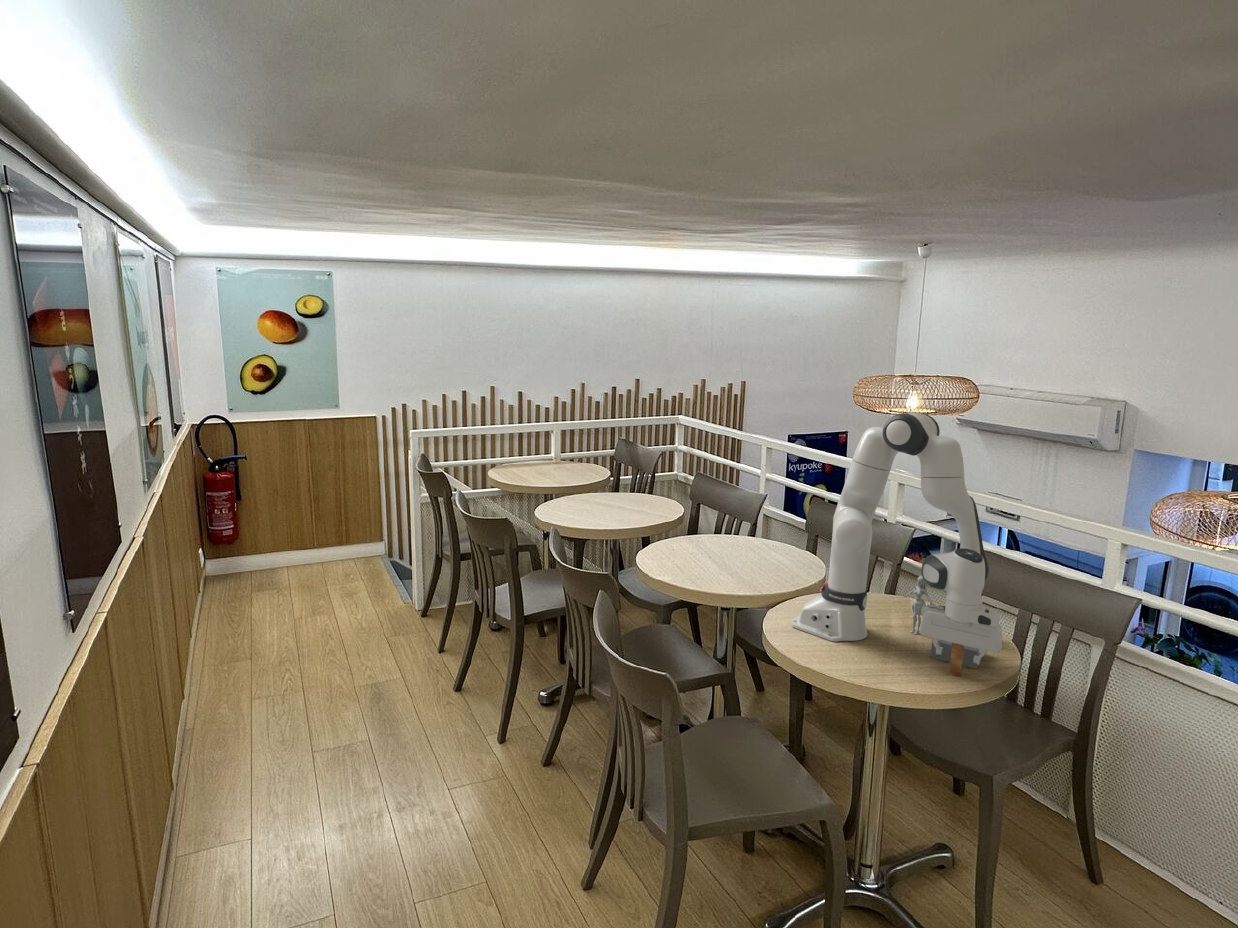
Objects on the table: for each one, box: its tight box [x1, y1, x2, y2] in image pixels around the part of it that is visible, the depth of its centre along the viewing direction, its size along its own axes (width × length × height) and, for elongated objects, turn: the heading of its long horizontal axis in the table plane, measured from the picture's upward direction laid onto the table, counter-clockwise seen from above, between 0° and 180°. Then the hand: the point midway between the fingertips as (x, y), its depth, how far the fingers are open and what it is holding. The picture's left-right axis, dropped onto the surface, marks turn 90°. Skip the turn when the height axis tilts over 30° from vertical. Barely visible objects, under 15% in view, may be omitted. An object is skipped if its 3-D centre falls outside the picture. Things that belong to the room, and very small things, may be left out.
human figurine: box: [902, 575, 934, 635], centre depth 232 cm, size 12×4×18 cm, turn 29°
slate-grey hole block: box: [929, 639, 985, 670], centre depth 217 cm, size 12×12×5 cm
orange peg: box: [948, 643, 964, 677], centre depth 205 cm, size 3×3×9 cm
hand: (957, 658), depth 206 cm, fingers open, 8 cm apart
